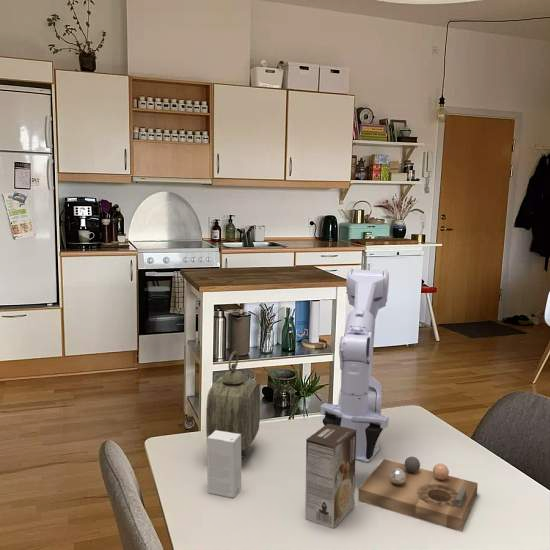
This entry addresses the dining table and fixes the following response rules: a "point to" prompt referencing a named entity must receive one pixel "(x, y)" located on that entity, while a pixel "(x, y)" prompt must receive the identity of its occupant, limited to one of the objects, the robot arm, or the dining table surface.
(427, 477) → the bore plate
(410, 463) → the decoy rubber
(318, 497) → the coffee box
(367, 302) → the robot arm
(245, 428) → the ribbed lantern with ring
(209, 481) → the skincare box
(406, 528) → the dining table surface
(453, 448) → the dining table surface
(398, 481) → the steel ball
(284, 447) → the dining table surface
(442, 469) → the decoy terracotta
